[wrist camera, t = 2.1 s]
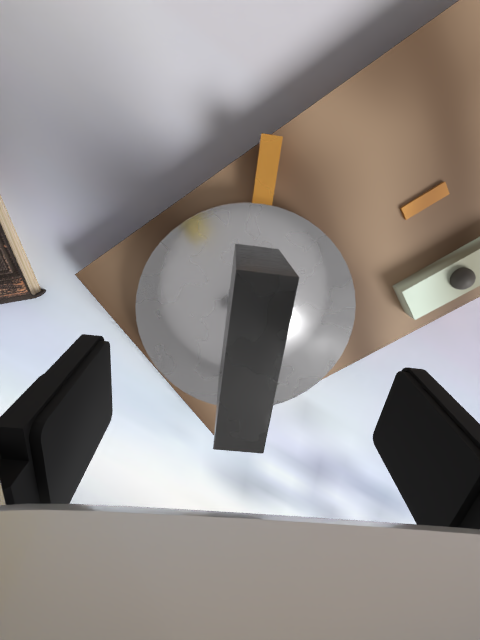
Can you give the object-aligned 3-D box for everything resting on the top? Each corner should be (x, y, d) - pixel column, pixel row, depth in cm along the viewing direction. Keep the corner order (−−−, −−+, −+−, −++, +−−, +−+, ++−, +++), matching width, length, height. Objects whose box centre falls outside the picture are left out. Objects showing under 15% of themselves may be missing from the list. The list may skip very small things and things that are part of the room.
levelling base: (215, 417, 25) (212, 456, 21) (89, 266, 20) (58, 283, 16) (532, 246, 20) (598, 259, 16) (464, -1, 15) (535, -59, 12)
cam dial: (321, 402, 22) (358, 494, 15) (141, 384, 21) (99, 474, 14) (388, 155, 16) (494, 134, 9) (145, 118, 15) (79, 67, 9)
